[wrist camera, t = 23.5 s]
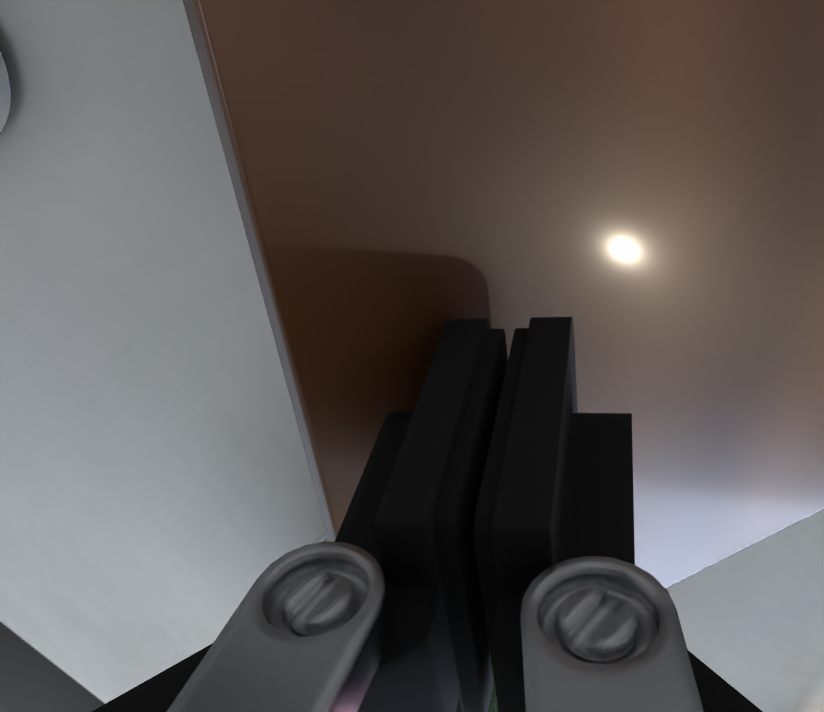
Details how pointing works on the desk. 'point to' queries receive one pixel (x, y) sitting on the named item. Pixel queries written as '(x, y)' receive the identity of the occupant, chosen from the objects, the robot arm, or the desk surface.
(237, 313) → the desk surface
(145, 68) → the desk surface
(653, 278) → the lid
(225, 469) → the desk surface
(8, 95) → the beverage can
